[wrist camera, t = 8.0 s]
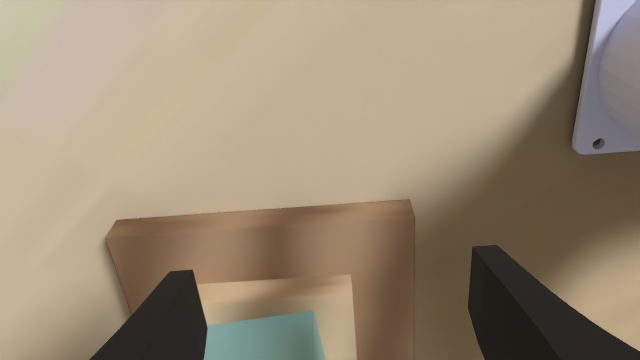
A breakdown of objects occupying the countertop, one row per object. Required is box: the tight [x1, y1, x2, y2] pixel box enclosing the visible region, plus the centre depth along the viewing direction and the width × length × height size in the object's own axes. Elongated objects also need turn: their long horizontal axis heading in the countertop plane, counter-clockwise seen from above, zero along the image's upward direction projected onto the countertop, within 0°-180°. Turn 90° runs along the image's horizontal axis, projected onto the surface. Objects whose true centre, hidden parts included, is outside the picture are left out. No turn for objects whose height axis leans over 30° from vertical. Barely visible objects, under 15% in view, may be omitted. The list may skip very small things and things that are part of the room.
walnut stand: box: [105, 200, 415, 360], centre depth 27 cm, size 14×14×3 cm
